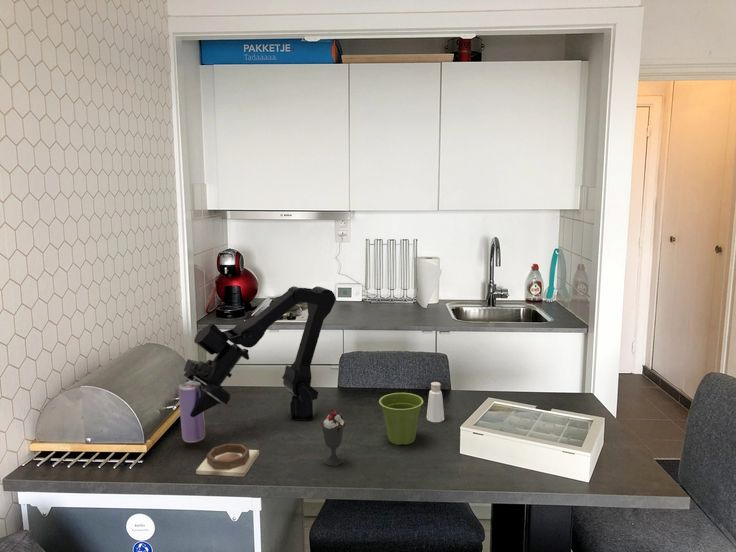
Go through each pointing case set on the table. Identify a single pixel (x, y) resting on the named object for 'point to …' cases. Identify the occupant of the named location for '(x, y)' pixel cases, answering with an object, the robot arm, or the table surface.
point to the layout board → (228, 460)
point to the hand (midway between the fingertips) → (186, 412)
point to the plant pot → (401, 416)
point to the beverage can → (190, 425)
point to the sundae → (333, 436)
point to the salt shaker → (435, 404)
